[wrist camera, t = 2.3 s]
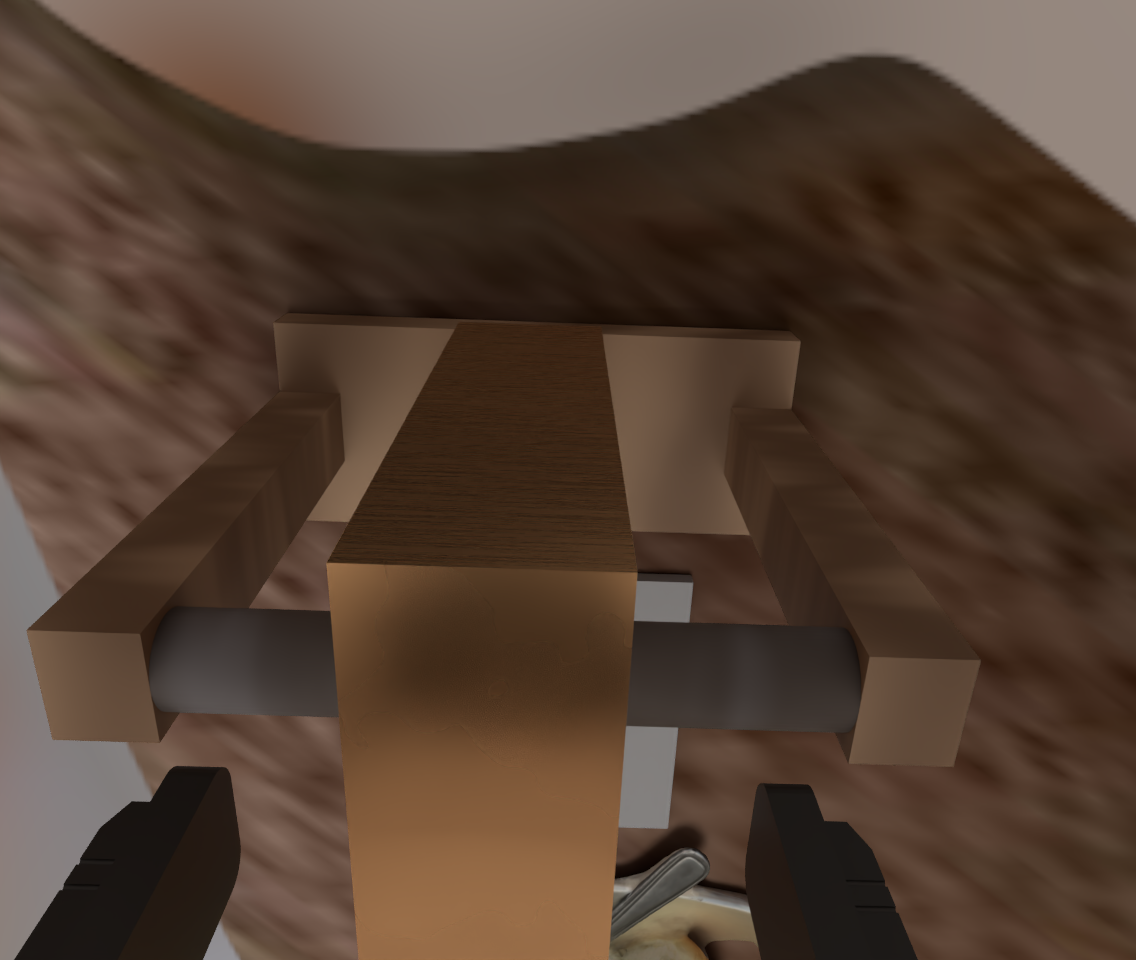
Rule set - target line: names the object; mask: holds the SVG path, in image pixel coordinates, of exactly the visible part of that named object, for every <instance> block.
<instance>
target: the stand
mask: <svg viewBox="0 0 1136 960" xmlns="http://www.w3.org/2000/svg"><path fill="white" fill-rule="evenodd" d="M458 322H480V323H508V324H536V325H564V326H592V327H601V328H602V335H603V342H604V348H605V355H606V362H607V369H608V376H609V382H610V389H611V396H612V403H613V410H614V416H615V423H616V430H617V437H618V444H619V450H620V457H621V464H622V471H623V477H624V484H625V491H626V498H627V505H628V511H629V518H630V525H631V531H642V532H672V533H702V534H733V535H750V536H751V538H752V541H753V543H754V545H755V548H756V550H757V552H758V554H759V557H760V559H761V561H762V564H763V566H764V568H765V571H766V573H767V575H768V578H769V580H770V582H771V585H772V587H773V589H774V592H775V594H776V596H777V599H778V601H779V603H780V606H781V608H782V610H783V613H784V615H785V617H786V620H787V622H788V624H789V626H781V625H750V624H719V623H687V622H656V621H634V627H633V640H632V653H631V667H630V680H629V693H628V707H627V720H626V726H639V727H672V728H705V729H737V730H770V731H803V732H835V734H836V736H837V738H838V741H839V743H840V745H841V748H842V750H843V752H844V755H845V757H846V759H847V762H848V764H876V765H909V766H942V767H953V766H954V762H955V758H956V755H957V751H958V747H959V743H960V739H961V735H962V731H963V728H964V724H965V720H966V716H967V712H968V708H969V705H970V701H971V697H972V693H973V689H974V685H975V681H976V678H977V674H978V670H979V666H980V662H981V660H980V658H979V657H978V656H977V655H976V653H975V652H974V651H973V649H972V648H971V647H970V645H969V644H968V643H967V641H966V640H965V639H964V637H963V636H962V635H961V633H960V632H959V631H958V629H957V628H956V627H955V625H954V624H953V623H952V621H951V620H950V619H949V617H948V616H947V615H946V613H945V612H944V611H943V610H942V608H941V607H940V606H939V604H938V603H937V602H936V600H935V599H934V598H933V596H932V595H931V594H930V592H929V591H928V590H927V588H926V587H925V586H924V584H923V583H922V582H921V580H920V579H919V578H918V576H917V575H916V574H915V572H914V571H913V570H912V569H911V567H910V566H909V565H908V563H907V562H906V561H905V559H904V558H903V557H902V555H901V554H900V553H899V551H898V550H897V549H896V547H895V546H894V545H893V543H892V542H891V541H890V539H889V538H888V537H887V535H886V534H885V533H884V531H883V530H882V529H881V527H880V526H879V525H878V524H877V522H876V521H875V520H874V518H873V517H872V516H871V514H870V513H869V512H868V510H867V509H866V508H865V506H864V505H863V504H862V502H861V501H860V500H859V498H858V497H857V496H856V494H855V493H854V492H853V490H852V489H851V488H850V486H849V485H848V484H847V483H846V481H845V480H844V479H843V477H842V476H841V475H840V473H839V472H838V471H837V469H836V468H835V467H834V465H833V464H832V463H831V461H830V460H829V459H828V457H827V456H826V455H825V453H824V452H823V451H822V449H821V448H820V447H819V445H818V444H817V443H816V441H815V440H814V439H813V438H812V436H811V435H810V434H809V432H808V431H807V430H806V428H805V427H804V426H803V424H802V423H801V422H800V420H799V419H798V418H797V416H796V415H795V414H794V412H793V411H792V410H791V407H792V400H793V393H794V386H795V379H796V372H797V365H798V358H799V350H800V343H801V341H800V340H799V339H798V338H797V337H796V336H795V335H794V334H793V333H792V332H791V331H778V330H750V329H722V328H694V327H666V326H637V325H609V324H581V323H553V322H525V321H497V320H469V319H441V318H413V317H385V316H357V315H329V314H301V313H286V314H285V315H284V316H282V317H281V318H279V319H278V320H276V321H275V322H273V327H274V338H275V348H276V358H277V369H278V379H279V390H280V392H279V393H278V394H277V395H276V396H275V397H273V398H272V399H271V400H270V401H269V402H268V403H267V404H266V405H265V406H264V407H263V408H262V409H261V410H260V411H259V412H258V413H256V414H255V415H254V416H253V417H252V418H251V419H250V420H249V421H248V422H247V423H246V424H245V425H244V426H243V427H242V428H241V429H239V430H238V431H237V432H236V433H235V434H234V435H233V436H232V437H231V438H230V439H229V440H228V441H227V442H226V443H225V444H224V445H223V446H221V447H220V448H219V449H218V450H217V451H216V452H215V453H214V454H213V455H212V456H211V457H210V458H209V459H208V460H207V461H206V462H204V463H203V464H202V465H201V466H200V467H199V468H198V469H197V470H196V471H195V472H194V473H193V474H192V475H191V476H190V477H189V478H188V479H186V480H185V481H184V482H183V483H182V484H181V485H180V486H179V487H178V488H177V489H176V490H175V491H174V492H173V493H172V494H171V495H169V496H168V497H167V498H166V499H165V500H164V501H163V502H162V503H161V504H160V505H159V506H158V507H157V508H156V509H155V510H154V511H153V512H151V513H150V514H149V515H148V516H147V517H146V518H145V519H144V520H143V521H142V522H141V523H140V524H139V525H138V526H137V527H136V528H134V529H133V530H132V531H131V532H130V533H129V534H128V535H127V536H126V537H125V538H124V539H123V540H122V541H121V542H120V543H119V544H118V545H116V546H115V547H114V548H113V549H112V550H111V551H110V552H109V553H108V554H107V555H106V556H105V557H104V558H103V559H102V560H101V561H99V562H98V563H97V564H96V565H95V566H94V567H93V568H92V569H91V570H90V571H89V572H88V573H87V574H86V575H85V576H84V577H82V578H81V579H80V580H79V581H78V582H77V583H76V584H75V585H74V586H73V587H72V588H71V589H70V590H69V591H68V592H67V593H66V594H64V595H63V596H62V597H61V598H60V599H59V600H58V601H57V602H56V603H55V604H54V605H53V606H52V607H51V608H50V609H49V610H47V612H45V613H44V614H43V615H42V616H41V617H40V618H39V619H38V620H37V621H36V622H35V623H34V624H33V625H32V626H31V627H29V628H28V629H27V635H28V639H29V643H30V647H31V651H32V655H33V659H34V664H35V668H36V672H37V676H38V680H39V684H40V689H41V693H42V697H43V701H44V705H45V710H46V714H47V718H48V722H49V726H50V730H51V735H52V739H53V740H80V741H113V742H146V743H160V742H161V740H162V739H163V737H164V736H165V734H166V733H167V731H168V730H169V728H170V727H171V725H172V723H173V722H174V720H175V719H176V717H177V716H178V714H179V713H180V712H181V713H214V714H246V715H279V716H312V717H339V710H338V698H337V686H336V673H335V661H334V649H333V636H332V624H331V612H330V611H311V610H280V609H249V606H250V605H251V603H252V602H253V600H254V599H255V597H256V596H257V594H258V593H259V591H260V589H261V588H262V586H263V585H264V583H265V582H266V580H267V579H268V577H269V576H270V574H271V573H272V571H273V570H274V568H275V567H276V565H277V564H278V562H279V561H280V559H281V558H282V556H283V554H284V553H285V551H286V550H287V548H288V547H289V545H290V544H291V542H292V541H293V539H294V538H295V536H296V535H297V533H298V532H299V530H300V529H301V527H302V526H303V524H304V522H305V521H306V520H309V521H339V522H349V521H350V519H351V517H352V515H353V514H354V512H355V510H356V508H357V506H358V505H359V503H360V501H361V499H362V497H363V495H364V494H365V492H366V490H367V488H368V486H369V484H370V483H371V481H372V479H373V477H374V475H375V474H376V472H377V470H378V468H379V466H380V464H381V463H382V461H383V459H384V457H385V455H386V454H387V452H388V450H389V448H390V446H391V444H392V443H393V441H394V439H395V437H396V435H397V433H398V432H399V430H400V428H401V426H402V424H403V423H404V421H405V419H406V417H407V415H408V413H409V412H410V410H411V408H412V406H413V404H414V402H415V401H416V399H417V397H418V395H419V393H420V392H421V390H422V388H423V386H424V384H425V382H426V381H427V379H428V377H429V375H430V373H431V371H432V370H433V368H434V366H435V364H436V362H437V361H438V359H439V357H440V355H441V353H442V351H443V350H444V348H445V346H446V344H447V342H448V340H449V339H450V337H451V335H452V333H453V331H454V330H455V328H456V326H457V324H458Z"/></svg>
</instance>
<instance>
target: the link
mask: <svg viewBox="0 0 1136 960" xmlns="http://www.w3.org/2000/svg"><path fill="white" fill-rule="evenodd" d="M637 574H638V573H637V566H636V559H635V552H634V545H633V539H632V532H631V525H630V518H629V511H628V505H627V498H626V491H625V484H624V477H623V471H622V464H621V457H620V450H619V444H618V437H617V430H616V423H615V416H614V410H613V403H612V396H611V389H610V382H609V376H608V369H607V362H606V355H605V348H604V342H603V335H602V328H601V327H592V326H564V325H536V324H508V323H480V322H458V324H457V326H456V328H455V330H454V331H453V333H452V335H451V337H450V339H449V340H448V342H447V344H446V346H445V348H444V350H443V351H442V353H441V355H440V357H439V359H438V361H437V362H436V364H435V366H434V368H433V370H432V371H431V373H430V375H429V377H428V379H427V381H426V382H425V384H424V386H423V388H422V390H421V392H420V393H419V395H418V397H417V399H416V401H415V402H414V404H413V406H412V408H411V410H410V412H409V413H408V415H407V417H406V419H405V421H404V423H403V424H402V426H401V428H400V430H399V432H398V433H397V435H396V437H395V439H394V441H393V443H392V444H391V446H390V448H389V450H388V452H387V454H386V455H385V457H384V459H383V461H382V463H381V464H380V466H379V468H378V470H377V472H376V474H375V475H374V477H373V479H372V481H371V483H370V484H369V486H368V488H367V490H366V492H365V494H364V495H363V497H362V499H361V501H360V503H359V505H358V506H357V508H356V510H355V512H354V514H353V515H352V517H351V519H350V521H349V523H348V525H347V526H346V528H345V530H344V532H343V534H342V536H341V537H340V539H339V541H338V543H337V545H336V546H335V548H334V550H333V552H332V554H331V556H330V557H329V559H328V561H327V575H328V587H329V599H330V612H331V624H332V636H333V649H334V661H335V673H336V686H337V698H338V710H339V723H340V735H341V748H342V760H343V772H344V785H345V797H346V809H347V822H348V834H349V846H350V859H351V871H352V883H353V896H354V908H355V920H356V933H357V945H358V957H359V960H609V946H610V933H611V920H612V906H613V893H614V880H615V867H616V853H617V840H618V827H619V813H620V800H621V787H622V773H623V760H624V747H625V733H626V720H627V707H628V693H629V680H630V667H631V653H632V640H633V627H634V614H635V600H636V587H637Z"/></svg>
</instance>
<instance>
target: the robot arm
mask: <svg viewBox="0 0 1136 960" xmlns="http://www.w3.org/2000/svg"><path fill="white" fill-rule="evenodd" d="M240 853H241V845H240V837H239V830H238V823H237V816H236V809H235V802H234V795H233V789H232V782H231V776H230V773H229V771H228V769H227V768H225V767H193V766H175V767H173V768H172V769H171V770H170V771H169V772H168V773H167V775H166V776H165V778H164V780H163V781H162V783H161V785H160V786H159V788H158V790H157V791H156V793H155V795H154V796H153V798H152V800H151V801H150V802H134V801H132V802H131V803H130V804H128V805H127V806H126V807H125V808H123V809H122V810H121V811H120V812H119V813H117V814H116V815H115V816H114V817H113V818H111V819H110V820H109V821H108V822H107V823H105V824H104V825H103V826H102V827H101V828H100V829H99V831H98V832H97V834H96V835H95V837H94V838H93V840H92V841H91V843H90V844H89V846H88V847H87V849H86V850H85V852H84V853H83V855H82V857H81V858H80V863H79V865H76V866H75V867H74V869H73V871H72V872H71V873H70V875H69V877H68V878H67V880H66V881H65V883H64V887H63V890H60V891H59V892H58V893H57V895H56V897H55V898H54V899H53V901H52V903H51V904H50V906H49V907H48V909H47V910H46V912H45V914H44V915H43V916H42V918H41V920H40V921H39V922H38V924H37V926H36V927H35V929H34V930H33V932H32V933H31V935H30V936H29V938H28V939H27V941H26V942H25V944H24V946H23V947H22V949H21V950H20V952H19V953H18V955H17V956H16V958H15V959H14V960H203V958H204V956H205V953H206V951H207V949H208V946H209V944H210V942H211V939H212V937H213V935H214V932H215V930H216V928H217V925H218V923H219V921H220V919H221V916H222V914H223V912H224V909H225V907H226V905H227V902H228V900H229V898H230V895H231V893H232V890H233V888H234V885H235V882H236V879H237V875H238V870H239V864H240ZM745 878H746V891H747V898H748V904H749V908H750V913H751V917H752V921H753V926H754V930H755V934H756V939H757V943H758V947H759V952H760V956H761V960H918V959H917V957H916V954H915V952H914V950H913V947H912V945H911V942H910V940H909V938H908V935H907V933H906V930H905V928H904V926H903V923H902V921H901V918H900V916H899V914H898V913H896V910H895V907H896V906H895V904H894V902H893V899H892V897H891V894H890V892H889V890H888V887H885V880H884V878H883V875H882V873H881V870H880V868H879V865H878V863H877V861H876V858H875V856H874V853H873V851H872V849H871V848H870V847H869V846H868V845H867V844H866V843H865V841H864V840H863V839H862V838H861V837H860V836H859V835H858V834H857V833H856V832H855V830H854V829H853V828H852V827H851V826H850V825H849V824H848V823H847V822H832V821H824V819H823V817H822V814H821V811H820V809H819V806H818V803H817V800H816V798H815V795H814V792H813V790H812V788H811V787H810V786H809V785H803V784H765V783H761V784H759V785H758V787H757V790H756V796H755V802H754V809H753V815H752V822H751V828H750V835H749V841H748V848H747V854H746V865H745Z"/></svg>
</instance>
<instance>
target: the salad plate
mask: <svg viewBox="0 0 1136 960" xmlns="http://www.w3.org/2000/svg"><path fill="white" fill-rule="evenodd" d="M709 870H710V863H709V860H708V858H707V856H706V855H705V854H703V853H702V852H701V851H700V850H698V849H695V848H682V849H679V850H676V851H674V852H673V853H671V854H670V855H669V856H667V857H665V858H663V859H662V860H661V861H660V862H659V863H657V864H656V865H655V866H653V867H651V868H650V869H649V870H647V871H646V872H643V873H640V874H636V875H632V876H628V877H623V878H617V879H615V880H614V893H613V906H612V920H611V933H610V946H609V960H709V958H708V955H707V953H706V952H705V946H706V945H707V944H708V943H709V942H713V941H725V940H741V941H751V942H754V943H755V944H756V945H757V947H758V943H757V939H756V934H755V930H754V926H753V921H752V917H751V913H750V908H749V904H748V898H747V895H745V894H741V893H737V892H732V891H726V890H721V889H716V888H710V887H705V886H700V885H697V884H698V883H699V882H700V881H702V880H703V879H704V878H705V877H706V876H707V875H708V873H709ZM758 948H759V947H758Z"/></svg>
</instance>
